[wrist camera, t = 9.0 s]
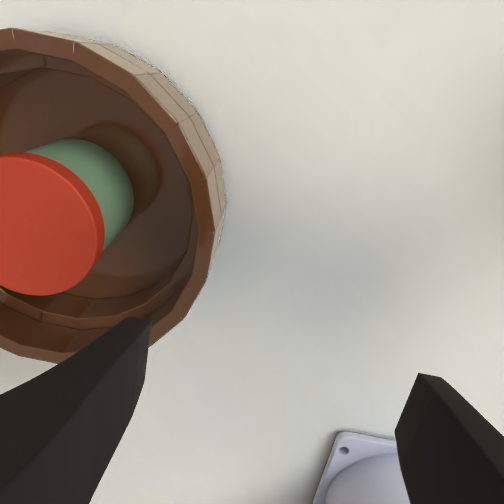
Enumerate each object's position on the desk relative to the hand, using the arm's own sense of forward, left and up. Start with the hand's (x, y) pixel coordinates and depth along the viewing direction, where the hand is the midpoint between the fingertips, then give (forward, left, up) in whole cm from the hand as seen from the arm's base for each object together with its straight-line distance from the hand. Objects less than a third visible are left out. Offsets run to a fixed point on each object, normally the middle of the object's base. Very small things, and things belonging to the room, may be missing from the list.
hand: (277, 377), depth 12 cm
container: (+1, +9, -8) cm, 12 cm away
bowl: (+1, +9, -9) cm, 12 cm away
